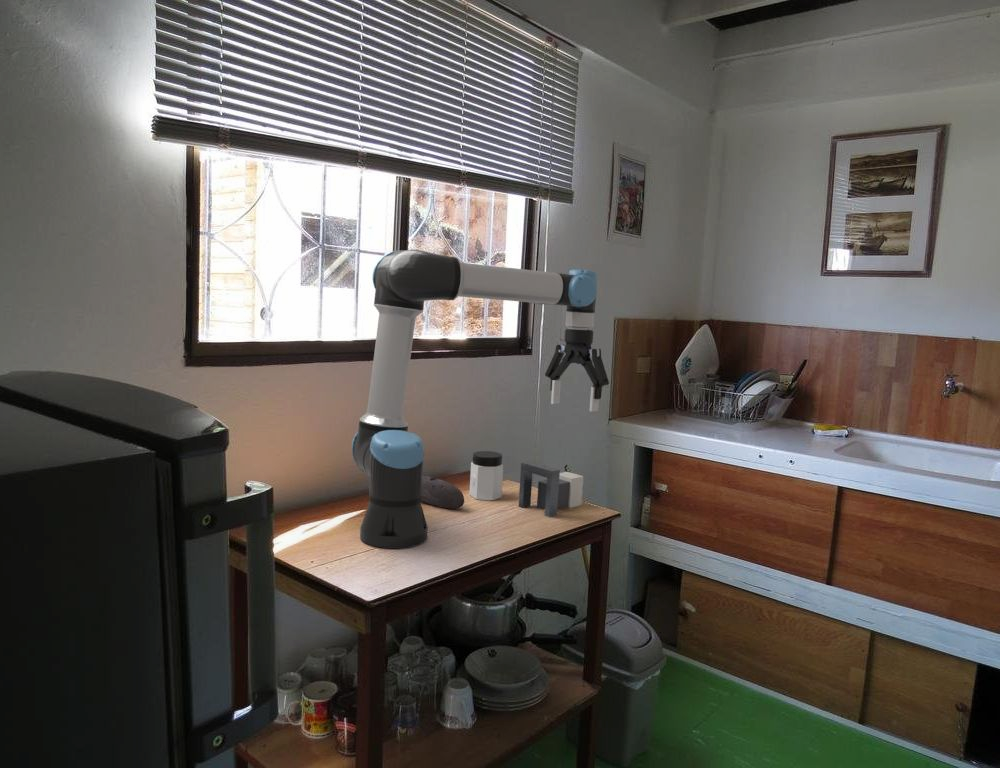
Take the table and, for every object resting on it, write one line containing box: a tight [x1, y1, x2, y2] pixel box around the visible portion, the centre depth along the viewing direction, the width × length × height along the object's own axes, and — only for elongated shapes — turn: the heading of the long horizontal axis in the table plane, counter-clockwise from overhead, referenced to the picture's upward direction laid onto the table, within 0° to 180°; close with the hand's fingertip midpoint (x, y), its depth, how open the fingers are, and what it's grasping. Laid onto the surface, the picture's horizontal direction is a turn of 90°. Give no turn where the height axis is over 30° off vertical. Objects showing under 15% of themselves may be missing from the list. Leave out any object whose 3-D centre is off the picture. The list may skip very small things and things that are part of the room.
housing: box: [518, 460, 561, 518], centre depth 185 cm, size 3×11×12 cm, turn 44°
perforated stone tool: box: [421, 475, 465, 510], centre depth 185 cm, size 15×5×7 cm, turn 55°
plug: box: [536, 471, 584, 511], centre depth 192 cm, size 14×6×8 cm, turn 134°
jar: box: [469, 450, 504, 501], centre depth 196 cm, size 9×8×12 cm
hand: (574, 407), depth 191 cm, fingers open, 13 cm apart
